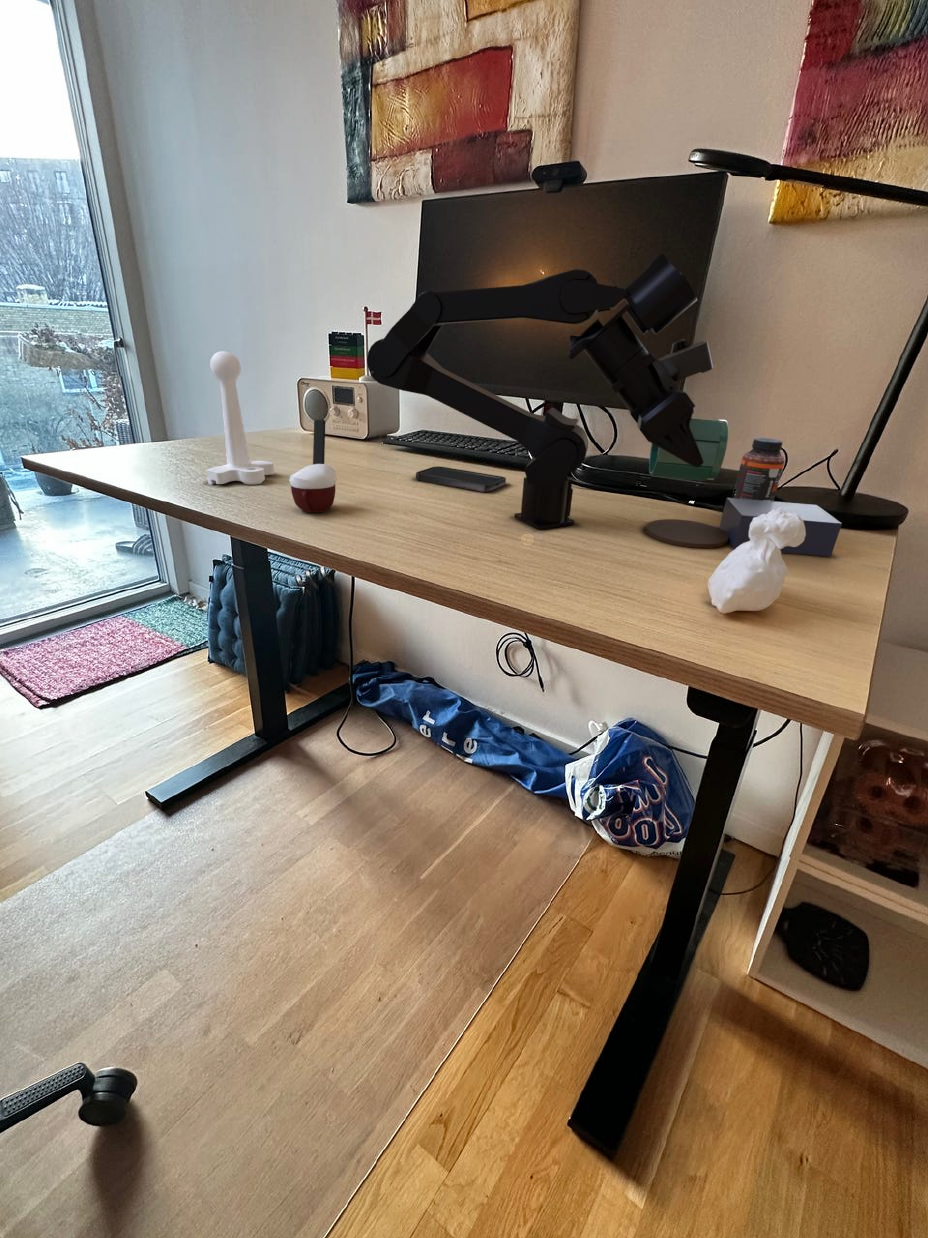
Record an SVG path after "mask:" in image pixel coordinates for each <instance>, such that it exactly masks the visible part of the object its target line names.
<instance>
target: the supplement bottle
mask: <svg viewBox="0 0 928 1238" xmlns="http://www.w3.org/2000/svg"><path fill="white" fill-rule="evenodd" d="M782 446H783V440H781V439H777V438H769V437H755V438H753V442H752V445H751V448H752V449H751V450H750V451H747V452H745V453H744V454H743V456H742V457H741V460H740V461H741V462H740V464H739V469H738V474H737V477H736V481H735V485H734V489H736V491H735V494H734V497H733V496H732V497H733V498H736V499H749V500H761V501H774V502H775V497H776V495H777V490H778V487H779V483H780V479H781V476H782V472H783V469H784V465H785V458H784V456H782V453H781V450H782Z"/></svg>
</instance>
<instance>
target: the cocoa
mask: <svg viewBox="0 0 928 1238" xmlns="http://www.w3.org/2000/svg"><path fill="white" fill-rule="evenodd" d="M312 448H313V449H312V464H309V465H306V466H305V467H303V468H301V469H300V470H298V471H297V472H294V473H292V474H291V475H290V477H289V478H288V479H289V480H288V482H289V484H290V490H291V491H290V492H291V495H292V499H293V502H294V504H295V506H296V507H297V508H298V509H299V510H301V511H303V512H305V513H322V512H326V511H328V510H329V509H331V508H332V507H333V505H334V502H335V497H336V482H337V481H338V478H337V471H336V470H335V469H334V468H333V467H332V466H331V465H329V464H325V453H326V452H325V451H326V420H325V419H319V418H318V419H317V418H315V419H314V421H313V444H312Z"/></svg>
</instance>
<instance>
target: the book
mask: <svg viewBox="0 0 928 1238" xmlns="http://www.w3.org/2000/svg"><path fill="white" fill-rule="evenodd" d="M778 508H781V509H782V510H785V511H786V513H790V514H799V516H800V517H801V518H802V520H803V522H804V525H805V531H806V536H805V539H804V541H803V542H802V543H801V544H800V545H798V546H796V547H791V546H785V547H784V548H782V549H780V551H781V554H793V555H802V556H803V555H805V556H816V557H825V558H831V557H832V554H833V552H834V549H835V545H836V543H837V539H838V537H839V535H840V531H841V528H842V525H843V523H842V522H841V521H839V520H838V519H836V518H835V516H833V515H831V514H830V513H828V511H826V510H824V509H823V508H821V507H820V506H819V505H817V504H812V503H811V504H810V503H797V502H787V501H786V502H785V501H775V500H774V501H761V500H749V499H736V498H732V497H726V499H725V503H724V508H723V511H722V515H721V520H720V524H719V526H718V527H719V529H721V530H723V531H725V532H726V533H727V534H728V536H729V540H728V543H729V544H730V545H731V547H732V548H733V549H736V548H737V547H738V546H740V545H741V544H743V543H745V542H749V541H750V538H749V536H748V535H749V529H750V523H751V522H752V520H753V518H754V517H758V516H760V515H761V514H766V515H767V514H768V513H769V512H770V511H772V510H777V509H778Z"/></svg>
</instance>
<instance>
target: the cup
mask: <svg viewBox="0 0 928 1238" xmlns="http://www.w3.org/2000/svg"><path fill="white" fill-rule="evenodd" d="M690 429H691V432H692V434H693V437H694V439H695V442H696V444H697V446H698V449H699V451H700V454H701V456H702V459H703V461H704V463H703V464H702V465H700V466H699V467H697V468H696V467H694V466H692V465H690V464H689V463H687V462H685V461H683V460H681V459H680V458H678V457H676V456H674V455H672V454H671V453H669V452H667V451H665V450H663V449H662V448H660V447H658V446H656V445H654V444H652V443H651V445H650V452H649V459H648V460H649V462H648V473H649V475H650V476H651V477H656V478H657V477H658V478H668V479H678V480H688V481H689V480H690V481H699V482H706V481H707V480H708V481H714V480H715V479H717V477H718V475H719V473H720V471H721V469H722V466H723V463H724V460H725V457H726V451H727V448H728V447H727V446H728V440H729V424H728V421H727V420H726V419H722V418H716V417H710V416H699V415H697V416H696V415H692V418H691V421H690Z"/></svg>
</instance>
